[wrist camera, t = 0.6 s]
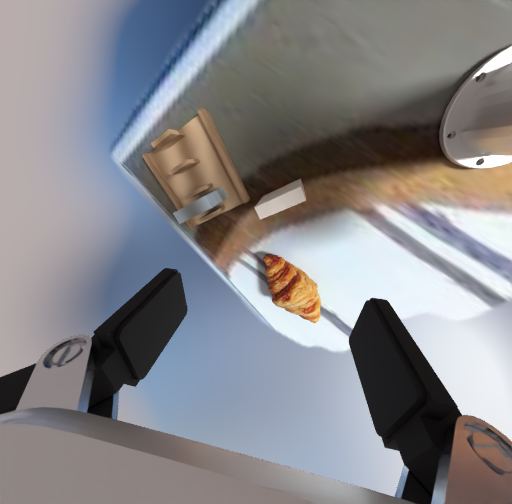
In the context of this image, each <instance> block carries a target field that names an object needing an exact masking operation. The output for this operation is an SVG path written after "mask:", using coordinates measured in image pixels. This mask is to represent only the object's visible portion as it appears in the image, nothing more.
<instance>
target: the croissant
mask: <svg viewBox="0 0 512 504" xmlns="http://www.w3.org/2000/svg"><path fill="white" fill-rule="evenodd" d="M263 262H264V263H265V264H266V269H265V274H266V277H267V278H268V279H267V280H268V281H269V288H268V289H269V290H270V292H271V294H272V296H273V297H272V302H273V303H274V304H275V305H276V306H278V307H281V308H285V310H287V311H288V312H290V313H294V314H297V315H299V316H300V317H302V318H303V319H306V320H309V321H311V322H313V323H316V322H317V321H318V320H319V318H320V316H321V315H320V306H321V301H320V297H319V295H318V291H317V284H316V283H314V281H313V280H311V279H309V277H308V276H307V274H305V273H304V272H303V271H302V270H300V269H299V268H296V267H295V266H294V265H292V264H290V263H289V262H287V261H285V260H284V259H283V258H282V257H278V256H275V255H271V254H267V255H265V257H264V259H263Z"/></svg>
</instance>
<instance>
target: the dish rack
mask: <svg viewBox="0 0 512 504" xmlns="http://www.w3.org/2000/svg"><path fill="white" fill-rule="evenodd" d="M198 113H199V115H197V116H196V117H195V118H193V119H192V120H191V121H190V122H188V123H187V124H186V125H185V126H183V127H182V128H181V129H179V130H178V131H177V130H171V129H168V130H167V131H166V132H165V133H163V134H162V135H161V136H160V137H158V138H157V139H156V140H155V141H153V142H152V143H151V145H152V146H153V148H155V149H154V150H153V151H151V152H150V153H144V154H143V155H142V157H143V158H144V160H145V161H146V163H147V164H148V166H149V167H150V169H151V171H152V172H153V174H154V175H155V177H156V178H157V180H158V181H159V183H160V184H161V186H162V187H163V189H164V190H165V192H166V193H167V195H168V197H169V198H170V200H171V201H172V203H173V204H174V206H175V207H176V209H177V210H178V211H176V212H174V213H173V215H174V216H175V218H176V219H177V221H178V222H179V224H181V223H183V222H186V224H187V226H188V227H189V229H191V228H193V227H195V226H196V225H198V224H201V223H203V222H205V221H207V220H209V219H211V218H213V217H215V216H217V215H219V214H222V213H224V212H226V211H228V210H230V209H232V208H234V207H236V206H238V205H240V204H243V203H246V202H248V201H249V200H250V197H249V195H248V193H247V191H246V189H245V187H244V184H243V182H242V180H241V178H240V176H239V174H238V172H237V170H236V168H235V166H234V164H233V162H232V160H231V158H230V155H229V153H228V151H227V149H226V147H225V145H224V143H223V141H222V139H221V137H220V135H219V133H218V131H217V129H216V126H215V124H214V122H213V120H212V118H211V116H210V114H209V112H208V111H207V110H205V109H203V108H201V109H200V110H198Z"/></svg>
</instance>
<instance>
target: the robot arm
mask: <svg viewBox="0 0 512 504" xmlns="http://www.w3.org/2000/svg"><path fill="white" fill-rule="evenodd" d="M476 78H477V80H476ZM448 134H449V136H448ZM447 136H448V137H447ZM439 142H440V145H441V149H442V151H443V153H444V154H445V156H446V157H447V158H448V159H449V160H450V161H451V162H453V163H455V164H457V165H459V166H463V167H467V168H476V169H480V168H491V167H496V166H501V165H504V164H507V163H510V162H512V45H511V46H510V47H508V48H506V49H504V50H502V51H500V52H499V53H497V54H496V55H494V56H493V57H491V58H490V59H489V60H487V61H486V62H484V63H483V64H482V65H481V66H480V67H479V68H478V69H476V70H475V71H474V72H473V73H472V74H471V75H470V76H469V77H468V78H467V79H466V81H465V82H464V83H463V84H462V85H461V86H460V88H459V89H458V90H457V92H456V93H455V94H454V96H453V97H452V99H451V101H450V103H449V104H448V106H447V108H446V110H445V113H444V115H443V118H442V121H441V126H440V131H439ZM186 314H187V305H186V299H185V294H184V289H183V284H182V279H181V274H180V273H178V271H177V270H176V269H169V268H165V269H163V270H162V271H161V272H160V273H159V274H158V275H157V276H155V277H154V278H153V279H152V280H151V281H150V282H149V283H148V284H146V285H145V286H144V287H143V288H142V289H141V290H140V291H139V292H138V293H136V294H135V295H134V296H133V297H132V298H131V299H130V300H129V301H128V302H126V303H125V304H124V305H123V306H122V307H121V308H120V309H119V310H117V311H116V312H115V313H114V314H113V315H112V316H111V317H110V318H108V319H107V320H106V321H105V322H104V323H103V324H102V325H101V326H99V327H98V328H97V329H96V330H95V331H94V334H95V335H94V336H93V337H92V338H90V336H88V335H75V336H71V337H69V338H66V339H63V340H62V341H60V342H58V343H56V344H54V345H53V346H52V347H51V348H49V349H48V350H47V351H46V352H45V353H44V354H43V355H42V356H41V357H40V359H39V361H38V362H37V363H36V364H33V365H31V366H28V367H26V368H23V369H20V370H18V371H15V372H13V373H10V374H8V375H5V376H3V377H0V504H512V442H511V441H510V440H509V439H508V438H507V437H506V436H505V435H504V434H502V433H501V432H500V431H499V430H497V429H496V428H494V427H493V426H492V425H490V424H488V423H486V422H485V421H483V420H481V419H479V418H476V417H474V416H468V415H463V416H462V414H461V413H460V411H459V410H458V408H457V407H458V406H457V405H456V403H455V402H454V400H453V399H452V398H451V396H450V395H449V393H448V391H447V390H446V388H445V387H444V385H443V384H442V382H441V381H440V379H439V378H438V376H437V375H436V373H435V372H434V370H433V369H432V367H431V366H430V364H429V363H428V361H427V360H426V358H425V356H424V355H423V353H422V352H421V350H420V349H419V347H418V346H417V345H416V343H415V341H414V340H413V339H412V337H411V335H410V334H409V332H408V331H407V329H406V328H405V326H404V325H403V323H402V322H401V320H400V319H399V317H398V316H397V314H396V312H395V311H394V309H393V308H392V306H391V305H390V303H389V302H388V301H387V300H384V299H377V298H371V299H370V300H367V301H366V302H365V304H364V306H363V309H362V311H361V313H360V315H359V317H358V320H357V322H356V324H355V326H354V328H353V330H352V333H351V335H350V337H349V345H350V348H351V352H352V354H353V358H354V361H355V365H356V368H357V371H358V375H359V378H360V381H361V384H362V388H363V391H364V394H365V398H366V401H367V404H368V407H369V411H370V414H371V417H372V421H373V424H374V427H375V430H376V432H377V434H378V435H379V436H381V437H382V440H383V443H384V446H385V448H389V449H394V450H398V451H400V454H401V457H402V460H403V462H404V467H403V470H402V473H401V477H400V480H399V483H398V487H397V491H396V494H395V497H393V496H389V495H386V494H383V493H379V492H376V491H373V490H370V489H366V488H363V487H359V486H355V485H352V484H348V483H345V482H341V481H338V480H334V479H331V478H327V477H323V476H320V475H316V474H313V473H309V472H305V471H302V470H298V469H295V468H291V467H288V466H284V465H280V464H277V463H273V462H269V461H266V460H262V459H259V458H255V457H251V456H248V455H244V454H241V453H237V452H233V451H230V450H226V449H222V448H219V447H215V446H211V445H208V444H204V443H200V442H197V441H193V440H189V439H185V438H182V437H178V436H175V435H171V434H167V433H163V432H160V431H155V430H152V429H148V428H145V427H141V426H137V425H134V424H130V423H126V422H122V421H118V420H117V415H118V399H119V390H120V388H121V387H122V386H123V384H127V385H131V386H136V385H137V384H138V382H139V381H140V380H141V379H143V378H144V377H145V376H146V375H147V373H148V372H149V370H150V369H151V367H152V366H153V364H154V363H155V361H156V360H157V358H158V357H159V355H160V354H161V352H162V351H163V349H164V348H165V346H166V345H167V343H168V342H169V340H170V339H171V337H172V335H173V334H174V332H175V331H176V329H177V328H178V326H179V325H180V323H181V322H182V320H183V319H184V317H185V316H186Z"/></svg>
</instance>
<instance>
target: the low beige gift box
mask: <svg viewBox="0 0 512 504" xmlns="http://www.w3.org/2000/svg"><path fill="white" fill-rule="evenodd" d="M304 201H306V196H305V190H304V187H303V184H302V181H301V179H299V180H296V181H294V182H292V183H290V184H288V185H286V186H284V187H282V188H279V189H277V190H275V191H273V192H271V193H269V194H267V195H264V196H263V197H262V199H261V200H260V201H259V202H258V204H257V205H256V206H255V207H254V208H255V210H256V212H257V214H258V216H259V218H260V220H261V219H263V218H266V217H268V216H270V215H273V214H275V213H278V212H280V211H282V210H285V209H287V208H290V207H292V206H294V205H297V204H299V203H302V202H304Z"/></svg>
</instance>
